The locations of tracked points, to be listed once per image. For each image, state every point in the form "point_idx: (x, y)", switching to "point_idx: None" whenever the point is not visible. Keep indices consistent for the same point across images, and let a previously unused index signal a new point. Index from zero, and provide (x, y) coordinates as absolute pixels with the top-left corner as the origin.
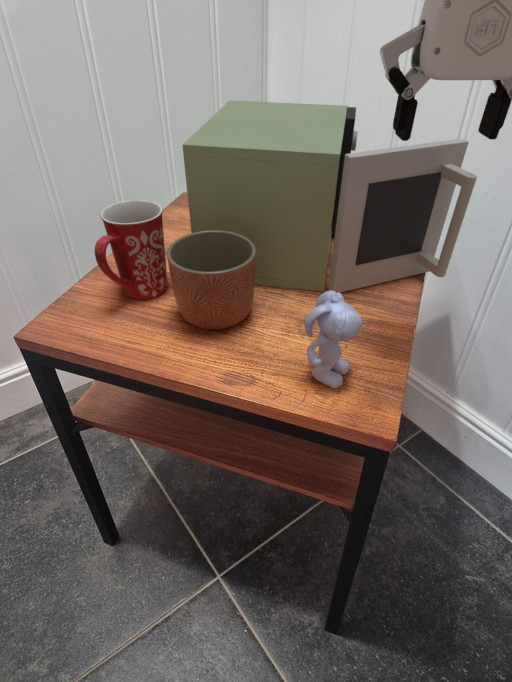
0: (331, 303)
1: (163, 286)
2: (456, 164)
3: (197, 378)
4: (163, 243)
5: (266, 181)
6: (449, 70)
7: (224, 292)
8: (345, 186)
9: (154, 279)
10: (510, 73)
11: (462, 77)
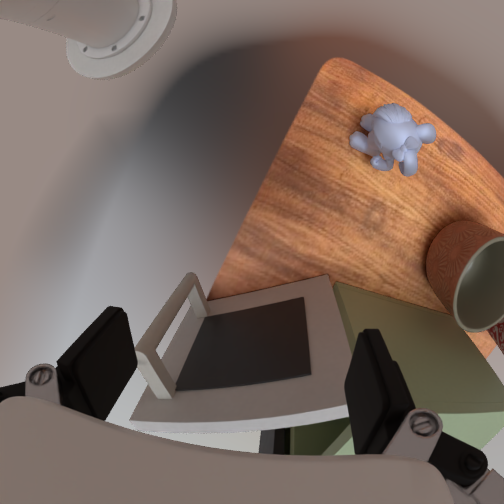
0: (415, 138)
1: None
2: (149, 397)
3: (478, 160)
4: (500, 326)
5: (445, 383)
6: (336, 486)
7: (482, 229)
8: None
9: None
10: (29, 404)
11: (246, 457)
